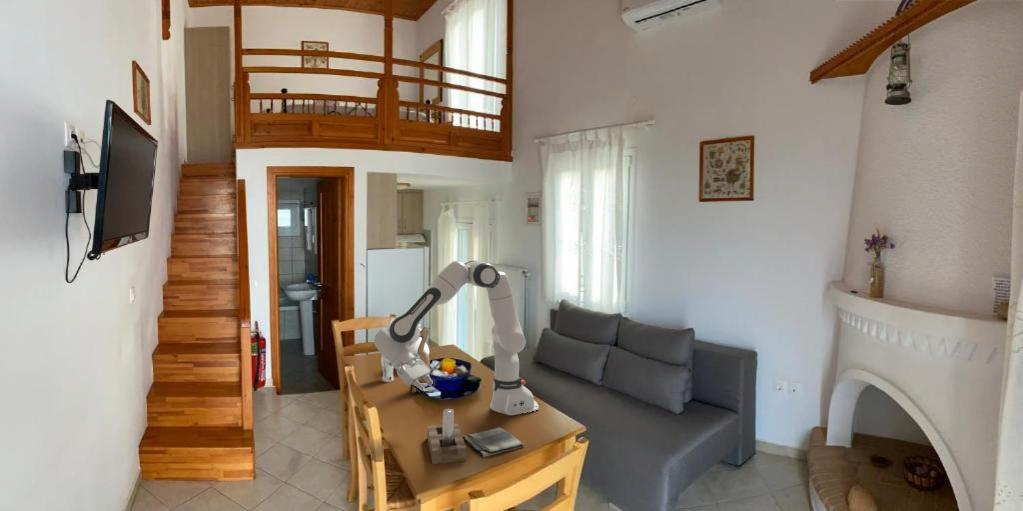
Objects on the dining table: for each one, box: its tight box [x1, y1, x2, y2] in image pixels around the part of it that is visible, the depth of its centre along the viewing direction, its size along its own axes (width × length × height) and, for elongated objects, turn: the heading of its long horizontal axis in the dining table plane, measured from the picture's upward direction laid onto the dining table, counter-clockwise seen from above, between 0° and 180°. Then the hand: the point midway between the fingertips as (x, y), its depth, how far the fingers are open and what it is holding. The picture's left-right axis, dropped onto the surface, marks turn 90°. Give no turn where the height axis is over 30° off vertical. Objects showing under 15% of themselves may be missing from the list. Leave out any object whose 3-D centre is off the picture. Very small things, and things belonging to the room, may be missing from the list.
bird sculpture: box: [411, 326, 431, 393], centre depth 243 cm, size 11×12×32 cm
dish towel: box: [462, 426, 525, 458], centre depth 191 cm, size 19×18×3 cm
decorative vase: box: [407, 322, 430, 355], centre depth 275 cm, size 18×18×25 cm
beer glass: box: [380, 354, 395, 383], centre depth 254 cm, size 7×7×15 cm
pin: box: [442, 408, 455, 447], centre depth 179 cm, size 4×4×16 cm
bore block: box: [426, 423, 467, 465], centre depth 184 cm, size 20×12×5 cm, turn 15°
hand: (427, 386), depth 195 cm, fingers open, 8 cm apart
